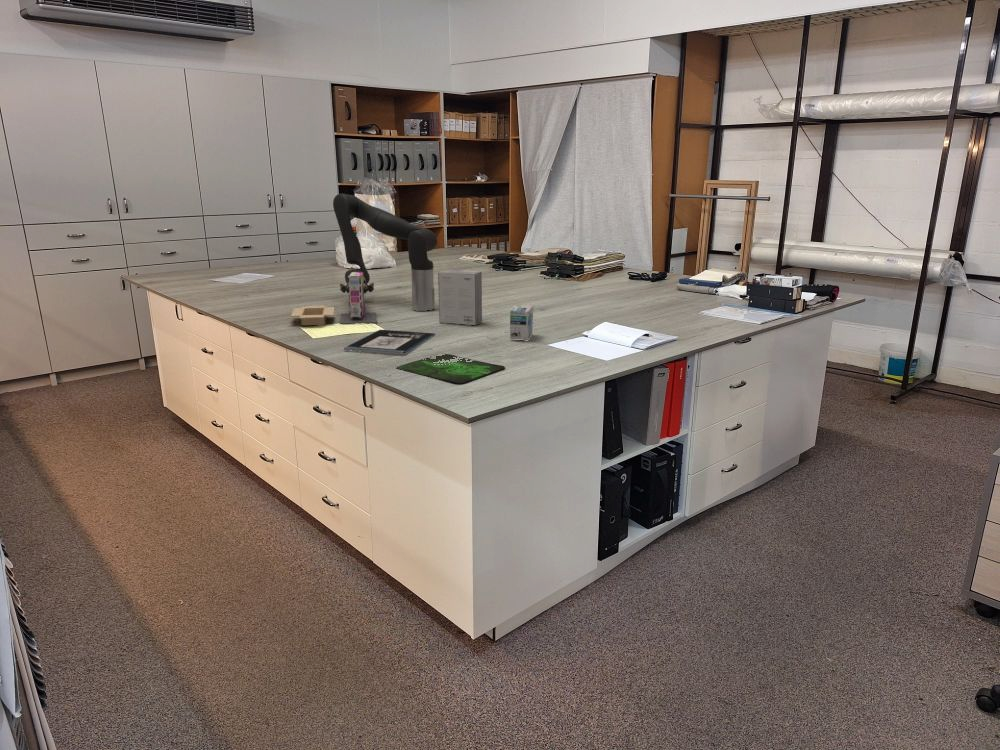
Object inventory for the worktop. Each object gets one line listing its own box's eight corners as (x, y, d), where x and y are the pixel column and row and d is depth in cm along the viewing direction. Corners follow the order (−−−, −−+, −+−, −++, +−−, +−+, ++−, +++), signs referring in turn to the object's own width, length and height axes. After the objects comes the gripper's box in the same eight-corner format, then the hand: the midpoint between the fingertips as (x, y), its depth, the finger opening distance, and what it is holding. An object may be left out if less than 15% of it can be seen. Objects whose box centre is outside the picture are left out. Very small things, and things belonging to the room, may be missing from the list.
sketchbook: (435, 336, 244) (435, 331, 243) (404, 358, 216) (404, 352, 216) (380, 332, 249) (379, 327, 248) (342, 353, 221) (342, 346, 220)
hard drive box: (482, 322, 264) (482, 271, 259) (475, 326, 257) (475, 274, 252) (446, 319, 269) (445, 269, 263) (438, 323, 262) (437, 271, 256)
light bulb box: (528, 341, 236) (528, 311, 233) (509, 340, 237) (509, 310, 234) (532, 334, 246) (533, 305, 243) (514, 333, 247) (515, 304, 244)
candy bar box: (363, 318, 263) (360, 276, 258) (349, 318, 262) (347, 276, 257) (365, 312, 273) (363, 271, 268) (353, 312, 273) (350, 271, 268)
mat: (375, 313, 278) (375, 312, 278) (377, 323, 261) (377, 322, 261) (341, 314, 275) (341, 313, 275) (339, 324, 258) (339, 323, 258)
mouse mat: (391, 369, 204) (391, 365, 203) (441, 354, 220) (441, 351, 220) (460, 386, 188) (460, 383, 187) (507, 369, 204) (508, 366, 204)
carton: (335, 315, 275) (334, 305, 273) (333, 326, 254) (333, 316, 253) (295, 316, 272) (294, 306, 270) (290, 328, 251) (289, 317, 250)
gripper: (338, 275, 278) (337, 282, 262) (374, 274, 281) (375, 281, 265) (339, 293, 280) (338, 301, 264) (375, 292, 283) (376, 300, 267)
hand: (357, 291), depth 265 cm, fingers closed on candy bar box, 5 cm apart
